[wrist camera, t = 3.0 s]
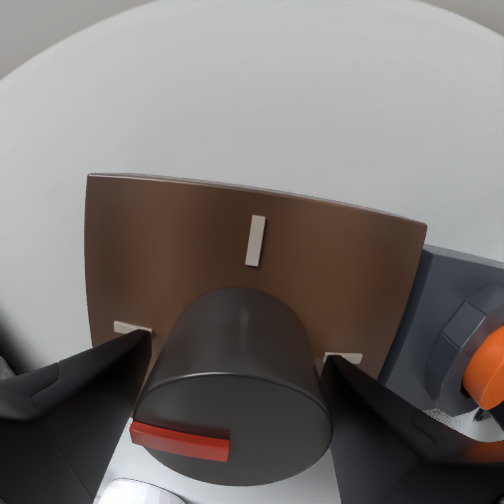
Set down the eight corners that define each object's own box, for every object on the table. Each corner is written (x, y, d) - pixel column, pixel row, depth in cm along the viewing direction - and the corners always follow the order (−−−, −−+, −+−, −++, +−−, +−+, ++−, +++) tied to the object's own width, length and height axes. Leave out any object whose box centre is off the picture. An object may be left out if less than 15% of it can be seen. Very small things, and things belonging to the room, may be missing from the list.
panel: (389, 212, 11) (431, 225, 8) (332, 400, 13) (345, 443, 10) (125, 172, 10) (83, 173, 7) (126, 373, 13) (103, 412, 10)
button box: (517, 266, 11) (559, 287, 8) (473, 375, 13) (502, 408, 9) (404, 239, 11) (459, 266, 7) (354, 387, 13) (378, 441, 9)
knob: (320, 296, 8) (369, 390, 4) (290, 401, 9) (304, 497, 5) (174, 276, 8) (113, 359, 4) (172, 386, 9) (140, 478, 5)
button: (521, 323, 8) (542, 338, 7) (491, 384, 9) (507, 402, 7) (484, 324, 8) (509, 344, 6) (449, 393, 9) (467, 417, 7)
